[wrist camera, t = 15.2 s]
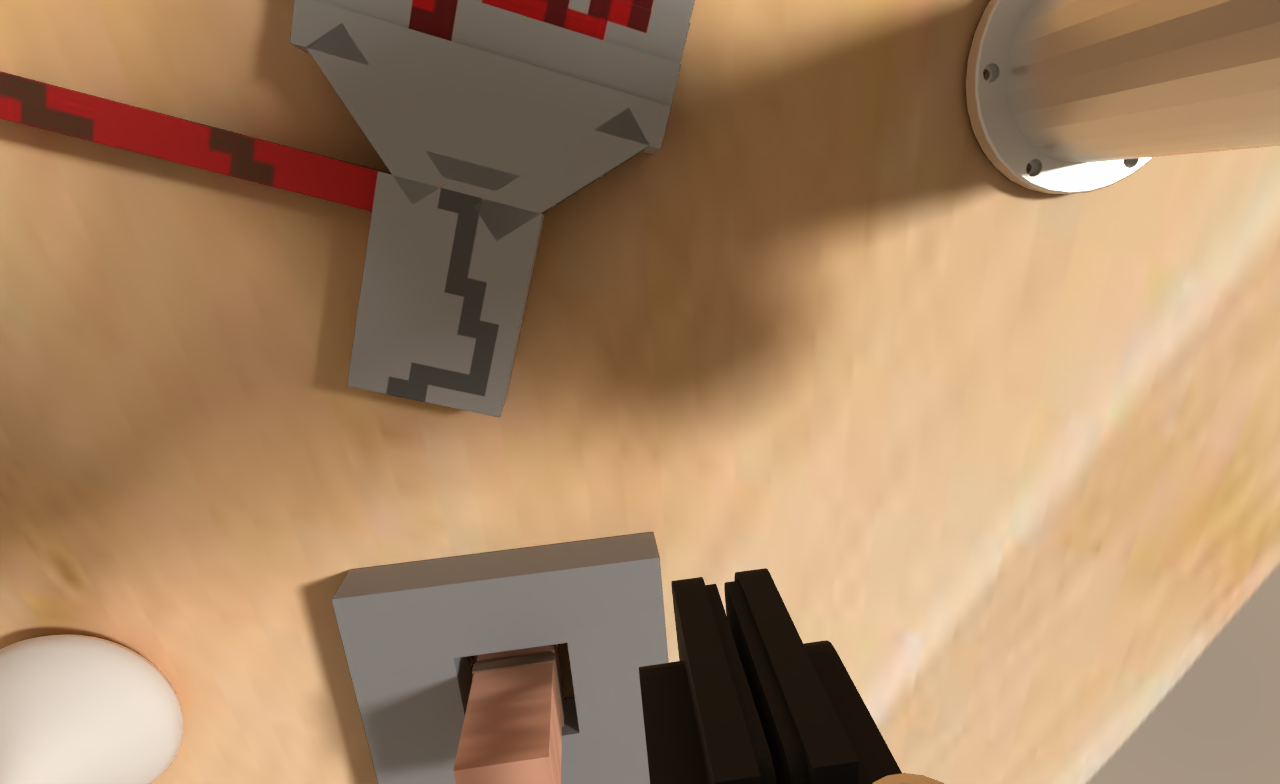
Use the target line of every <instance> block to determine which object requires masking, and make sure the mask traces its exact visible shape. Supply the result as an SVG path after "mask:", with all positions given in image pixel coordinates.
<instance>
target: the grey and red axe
mask: <svg viewBox="0 0 1280 784" xmlns="http://www.w3.org/2000/svg"><path fill="white" fill-rule="evenodd" d="M694 1H695V0H294V10H293V19H292V29H291V38H290V43H291V44H293V45H295V46H296V47H298V48H300V49H301V50H303V51H305V52H307V53H308V54H310V55H311V56H312V57H313V59H314V60H315V62H316V63H317V65H318V66H319V68H320V69H321V71H322V72H323V74H324V75H325V77H326V78H327V80H328V81H329V83H330V84H331V85H332V87H333V88H334V90H335V91H336V93H337V94H338V96H339V97H340V99H341V100H342V102H343V103H344V105H345V106H346V108H347V109H348V111H349V112H350V113H351V115H352V116H353V118H354V119H355V121H356V122H357V124H358V125H359V127H360V128H361V130H362V131H363V133H364V134H365V136H366V137H367V138H368V140H369V141H370V143H371V144H372V146H373V147H374V149H375V150H376V152H377V153H378V155H379V156H380V158H381V159H382V161H383V162H384V164H385V165H386V166H387V168H388V169H389V171H390V172H391V173H387V172H384V171H380V170H376V169H372V168H368V167H364V166H361V165H357V164H353V163H349V162H345V161H341V160H338V159H334V158H330V157H326V156H322V155H318V154H315V153H311V152H307V151H303V150H299V149H295V148H292V147H288V146H284V145H280V144H276V143H272V142H269V141H265V140H261V139H257V138H253V137H249V136H246V135H242V134H238V133H234V132H230V131H226V130H223V129H219V128H215V127H211V126H207V125H203V124H200V123H196V122H192V121H188V120H184V119H180V118H177V117H173V116H169V115H165V114H161V113H157V112H154V111H150V110H146V109H142V108H138V107H134V106H131V105H127V104H123V103H119V102H115V101H111V100H108V99H104V98H100V97H96V96H92V95H88V94H85V93H81V92H77V91H73V90H69V89H65V88H62V87H58V86H54V85H50V84H46V83H42V82H39V81H35V80H31V79H27V78H23V77H19V76H16V75H12V74H8V73H4V72H0V118H1V119H5V120H9V121H13V122H17V123H21V124H25V125H29V126H33V127H37V128H41V129H45V130H49V131H53V132H57V133H60V134H64V135H68V136H72V137H76V138H80V139H84V140H88V141H92V142H96V143H100V144H104V145H108V146H112V147H116V148H120V149H124V150H128V151H132V152H136V153H140V154H144V155H148V156H152V157H156V158H160V159H164V160H168V161H172V162H176V163H180V164H184V165H188V166H192V167H196V168H200V169H204V170H208V171H212V172H216V173H220V174H224V175H228V176H232V177H236V178H240V179H244V180H248V181H252V182H256V183H260V184H264V185H268V186H272V187H276V188H280V189H284V190H288V191H292V192H296V193H300V194H304V195H308V196H312V197H316V198H320V199H324V200H328V201H332V202H336V203H340V204H344V205H348V206H352V207H356V208H360V209H364V210H368V211H372V216H371V223H370V230H369V237H368V243H367V250H366V257H365V264H364V271H363V278H362V285H361V292H360V299H359V306H358V313H357V320H356V327H355V334H354V341H353V348H352V355H351V361H350V368H349V375H348V382H347V386H349V387H354V388H359V389H364V390H368V391H373V392H378V393H383V394H388V395H393V396H398V397H403V398H407V399H412V400H417V401H422V402H427V403H432V404H437V405H442V406H446V407H451V408H456V409H461V410H466V411H471V412H476V413H481V414H485V415H490V416H495V417H500V415H501V412H502V409H503V407H504V404H505V401H506V397H507V392H508V388H509V383H510V378H511V373H512V369H513V364H514V359H515V354H516V349H517V345H518V340H519V335H520V330H521V326H522V321H523V316H524V311H525V307H526V302H527V297H528V292H529V288H530V283H531V278H532V273H533V269H534V264H535V259H536V254H537V250H538V245H539V240H540V235H541V231H542V226H543V221H544V216H545V213H544V212H546V211H548V210H549V209H551V208H552V207H556V205H557V204H559V203H560V202H562V201H564V200H565V199H567V198H568V197H570V196H572V195H573V194H575V193H577V192H578V191H580V190H581V189H583V188H585V187H586V186H588V185H589V184H591V183H593V182H594V181H596V180H597V179H599V180H600V178H601V177H602V176H604V175H605V174H607V173H609V172H610V171H612V170H613V169H615V168H617V167H618V166H620V165H621V164H623V163H625V162H626V161H628V160H629V159H631V158H633V157H634V156H636V155H637V154H639V153H641V152H645V153H648V154H654V153H655V152H657V151H658V150H660V149H661V146H662V142H663V138H664V134H665V130H666V126H667V122H668V118H669V113H670V109H671V103H672V99H673V95H674V91H675V87H676V83H677V79H678V75H679V71H680V67H681V64H680V62H681V58H682V54H683V50H684V46H685V42H686V38H687V34H688V30H689V26H690V23H689V21H690V17H691V13H692V9H693V5H694Z"/></svg>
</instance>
